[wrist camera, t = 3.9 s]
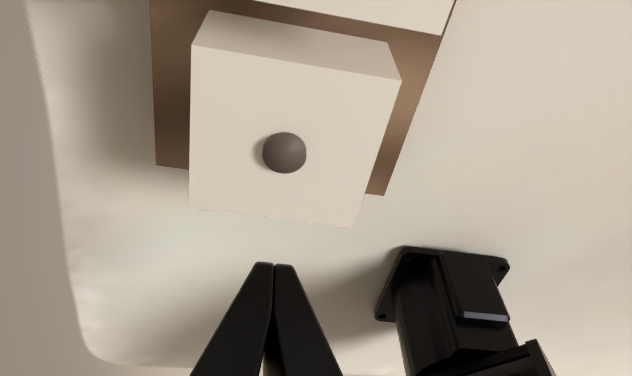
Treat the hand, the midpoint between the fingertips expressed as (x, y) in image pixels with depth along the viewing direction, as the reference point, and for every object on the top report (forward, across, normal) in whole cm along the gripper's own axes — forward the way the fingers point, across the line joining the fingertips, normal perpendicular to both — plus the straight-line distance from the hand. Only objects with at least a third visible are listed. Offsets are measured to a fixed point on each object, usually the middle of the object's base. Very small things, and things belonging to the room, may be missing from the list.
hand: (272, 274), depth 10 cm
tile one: (+8, 0, 0) cm, 8 cm away
